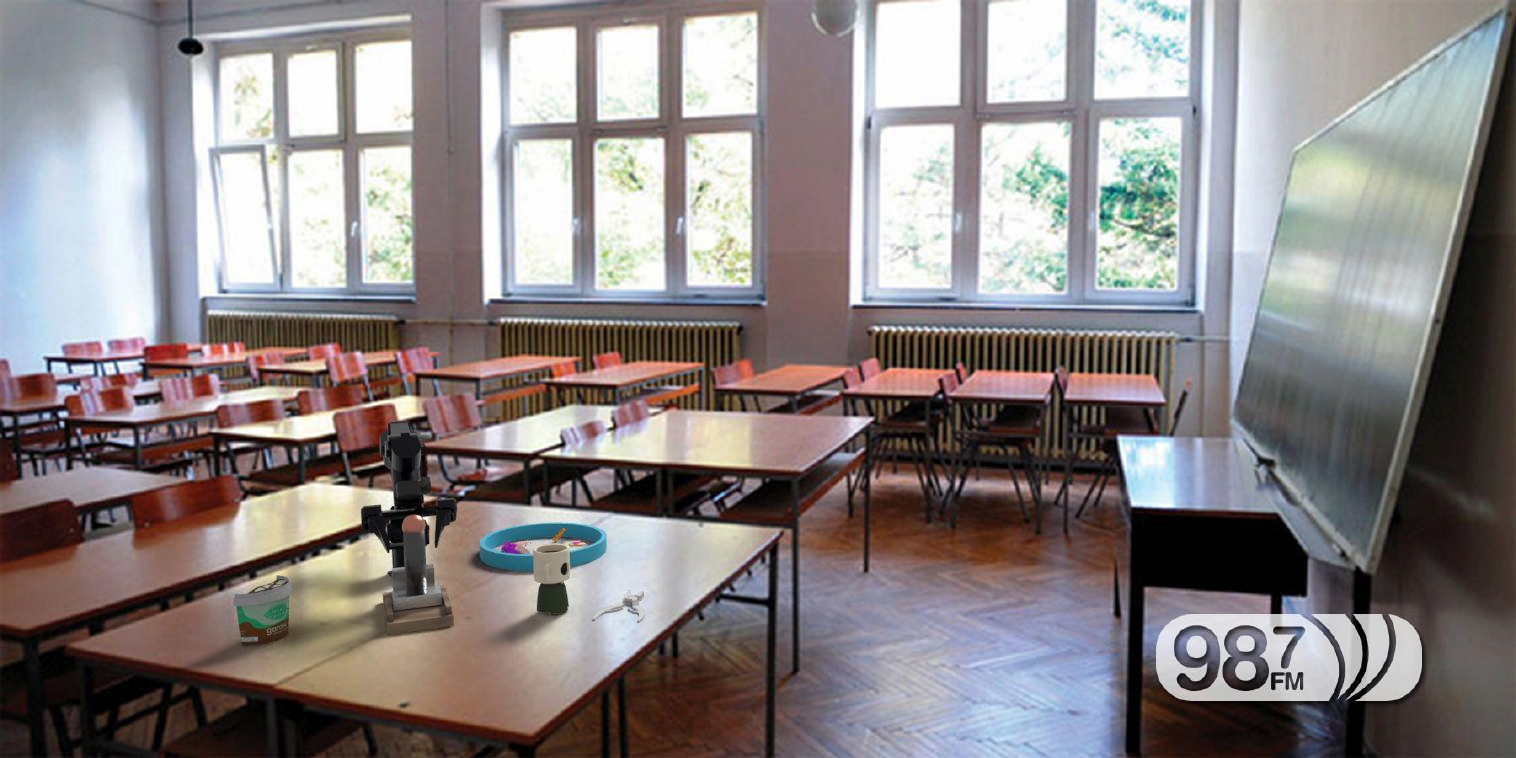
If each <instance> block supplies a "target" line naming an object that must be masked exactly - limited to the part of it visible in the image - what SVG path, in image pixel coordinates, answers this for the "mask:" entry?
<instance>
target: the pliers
mask: <svg viewBox="0 0 1516 758" xmlns="http://www.w3.org/2000/svg"><path fill="white" fill-rule="evenodd" d="M644 598H645V591H643V590H641V591H639V592H637V593H636V594H635V595H633V594H632V590H631V589H630V590H629V589H628V590H626V593H625V594H624V598H623V599H624V600H623V601H621V602H619V603H617V604H616V603H615V604H613V605H610V606H606V607H604V608H602V609H600V610H599V611H597V612H596V613H594V614H593V616H592V621H596V620H597V619H599V618H600V617H601V616H603V615H604V614H607V613H614V612H615V613H616V612H619V611H622V610H624V606H626V605H627V606H628V605H632V606H631V607H632V608H631V607H628V608H627V610H628V611H629V612H630V613H633V614H636V615H638V617H637V620H636V623H641V622H642V621H643V620H644V619H645V616H646V610H645V608H644V607H643V606H641V605H640V602H641V601H642V600H643V599H644Z"/></svg>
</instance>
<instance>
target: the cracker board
mask: <svg viewBox="0 0 1516 758" xmlns="http://www.w3.org/2000/svg"><path fill="white" fill-rule="evenodd" d="M391 570H392V575H391V576H392V591H398V590H406V583H405V567H401V568H393V567H392V568H391ZM426 570H427V587H430V586H436V583H435V581H436V580H435V566H434V563H429V564H427V563H426ZM439 586H440V589H441V592H442V605H435V606H427V607H420V608H412V609H404V610H396V611H393V604H392V591H387V592H384V591H383V592H382V605H383V613H384V619H385V628H386V629H385V630H386V634H387V635H395V634H402V633H408V632H409V633H410V632H415V631H416V632H419V631H425V630H430V629H437V628H439V629H440V628H445V627H452V626H455V624H454V623H455V622H454V621H455V618H454V617H455V616H454V612H453V609H452V608H453V607H452V604H451V600H450V598H449V595H448V591H447V589H446V587H445V585H444V584H442V585H439Z"/></svg>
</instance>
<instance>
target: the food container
mask: <svg viewBox="0 0 1516 758" xmlns="http://www.w3.org/2000/svg"><path fill="white" fill-rule="evenodd" d="M275 578H276V580H273V581H271V582H270V583H267V584H263V585H259V586H256V587H255V588H252V590H250V591H249V592H247V593H234V597H233V603H232V606H233V607H235V608H236V614H237V615H236V617H237V622H238V629H239V636H240V641H241V643H240V644H241V646H246V647H249V646H250V647H251V646H261V645H266V644H270V643H269V642H271V643H273V641H275V642H278V641H279V640H282V639H284V638H285V637H287V635H289V629H290V628H289V627H290V626H289V625H290V624H289V621H290V597H291V596H290V595H291V594H293V592H294V588H293V585H292V581H290V578H289V577H287V576H284V575H279V574H278V575H277V574H276V577H275Z"/></svg>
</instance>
